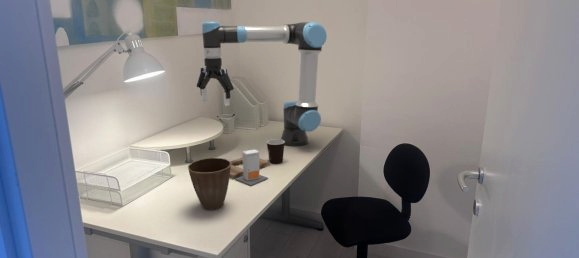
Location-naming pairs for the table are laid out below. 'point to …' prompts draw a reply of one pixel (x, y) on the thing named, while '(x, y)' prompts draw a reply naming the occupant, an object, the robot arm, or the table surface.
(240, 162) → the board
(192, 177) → the plant pot
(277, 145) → the coffee mug
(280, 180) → the table surface
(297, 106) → the robot arm
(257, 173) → the skincare box
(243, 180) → the coaster
